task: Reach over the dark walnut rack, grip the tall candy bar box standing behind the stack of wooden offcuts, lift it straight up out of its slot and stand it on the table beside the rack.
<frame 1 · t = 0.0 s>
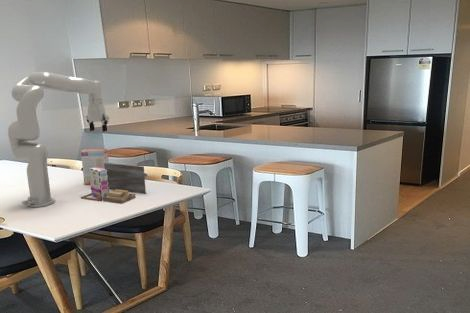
hand: (98, 130, 242), 31 cm above the table, tool pointing down, fingers open, 9 cm apart
cracker box: (97, 183, 244), on the table
offcut middle: (118, 199, 208), point 1 cm above the table, touching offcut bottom, offcut top
rack: (110, 200, 211), on the table
offcut top: (118, 195, 208), point 3 cm above the table, touching offcut middle
candy bar box: (101, 199, 213), on the table
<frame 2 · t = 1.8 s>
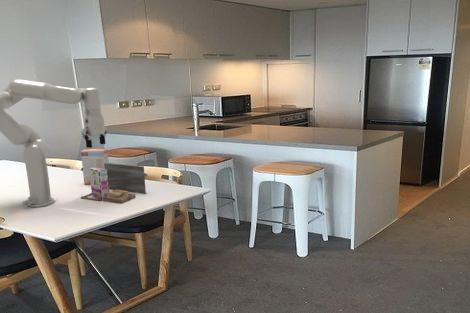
hand: (96, 145, 208), 28 cm above the table, tool pointing down, fingers open, 9 cm apart
nothing on the table moved.
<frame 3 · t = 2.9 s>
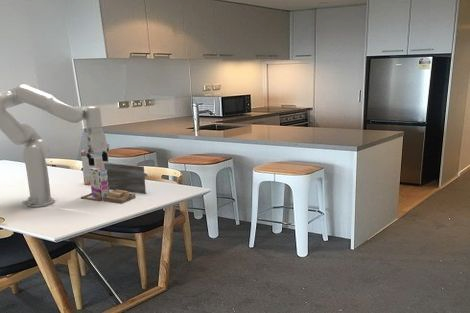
hand: (98, 163, 209), 19 cm above the table, tool pointing down, fingers open, 9 cm apart
nothing on the table moved.
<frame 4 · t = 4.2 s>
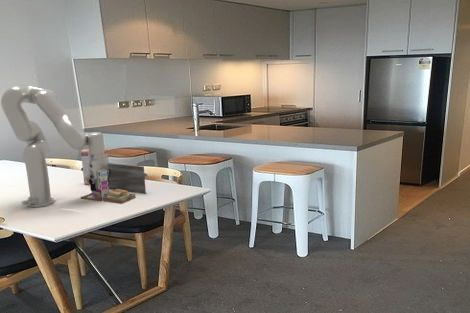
hand: (100, 188, 212), 6 cm above the table, tool pointing down, fingers open, 9 cm apart
nothing on the table moved.
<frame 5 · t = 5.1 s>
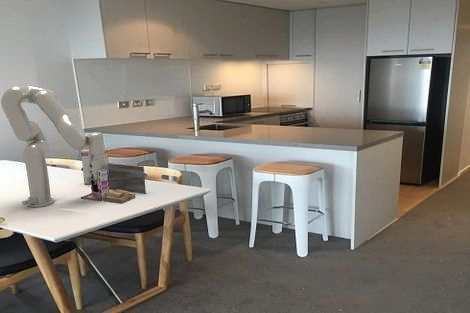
hand: (100, 189, 212), 5 cm above the table, tool pointing down, fingers closed on candy bar box, 6 cm apart
candy bar box: (101, 199, 213), on the table, touching gripper
everything else where it was.
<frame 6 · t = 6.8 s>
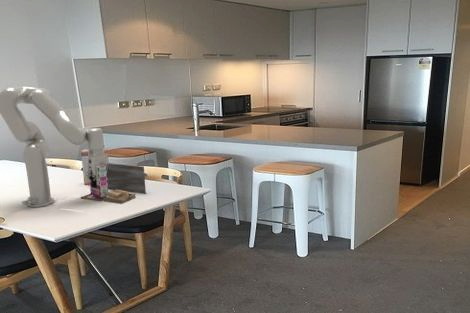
hand: (98, 185, 212), 7 cm above the table, tool pointing down, fingers closed on candy bar box, 6 cm apart
candy bar box: (99, 195, 213), point 2 cm above the table, touching gripper
everything else where it was.
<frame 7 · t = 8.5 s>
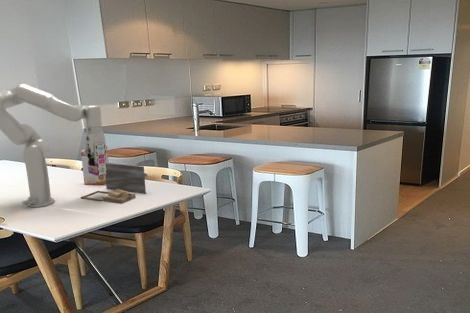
hand: (96, 163, 209), 19 cm above the table, tool pointing down, fingers closed on candy bar box, 6 cm apart
offcut middle: (117, 199, 208), point 1 cm above the table, touching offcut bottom
offcut top: (117, 195, 208), point 3 cm above the table
candy bar box: (97, 174, 210), point 14 cm above the table, touching gripper
everything else where it was.
when the fingers open (6 cm above the table, at t = 16.8 s): candy bar box drops 1 cm, on the table.
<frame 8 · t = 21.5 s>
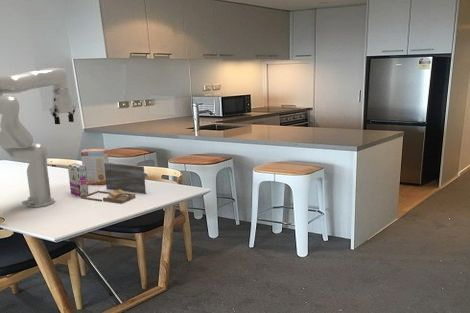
hand: (64, 123, 224), 38 cm above the table, tool pointing down, fingers open, 9 cm apart
offcut middle: (118, 199, 208), point 1 cm above the table, touching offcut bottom, offcut top
offcut top: (117, 195, 208), point 3 cm above the table, touching offcut middle
candy bar box: (79, 194, 223), on the table
everything else where it was.
at the end: candy bar box inside the target area (0.1 cm from its centre), on the table; candy bar box tilted 0°; the gripper is holding nothing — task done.
